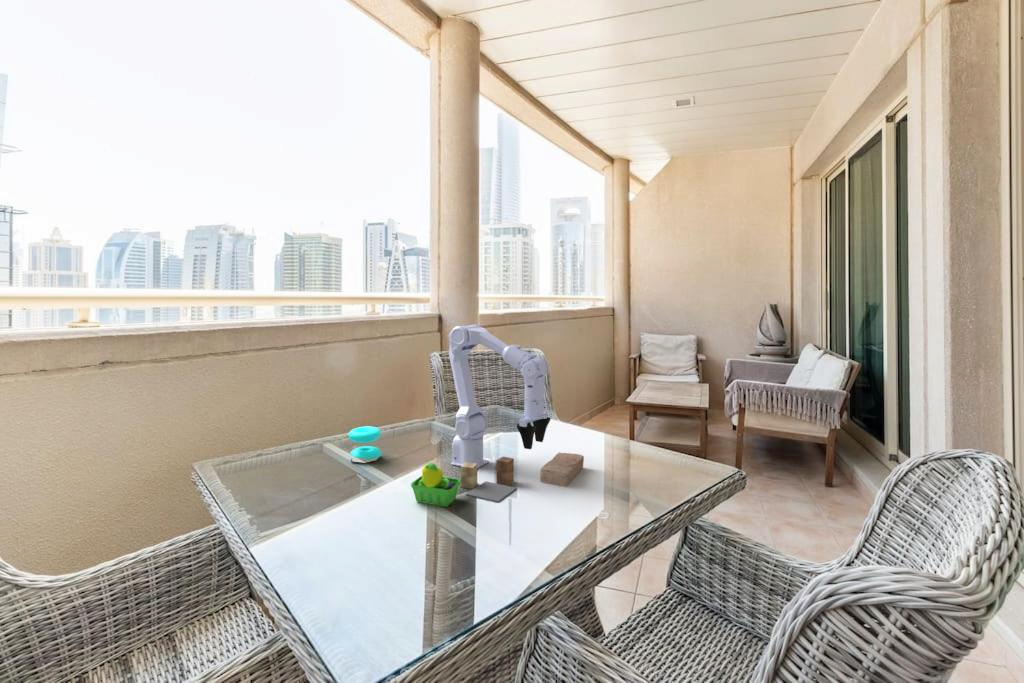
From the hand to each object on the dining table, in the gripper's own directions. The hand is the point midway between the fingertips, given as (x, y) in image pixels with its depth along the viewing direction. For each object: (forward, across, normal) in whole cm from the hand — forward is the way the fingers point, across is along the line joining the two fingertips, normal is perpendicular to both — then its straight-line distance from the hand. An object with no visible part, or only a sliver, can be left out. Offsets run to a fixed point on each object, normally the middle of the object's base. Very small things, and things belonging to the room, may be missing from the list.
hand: (533, 444), depth 145 cm
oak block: (+10, -14, +13) cm, 22 cm away
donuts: (+11, -12, +55) cm, 57 cm away
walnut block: (+10, -8, +5) cm, 14 cm away
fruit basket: (+10, -27, +15) cm, 33 cm away
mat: (+10, -15, +5) cm, 19 cm away
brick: (+10, +6, -7) cm, 14 cm away
